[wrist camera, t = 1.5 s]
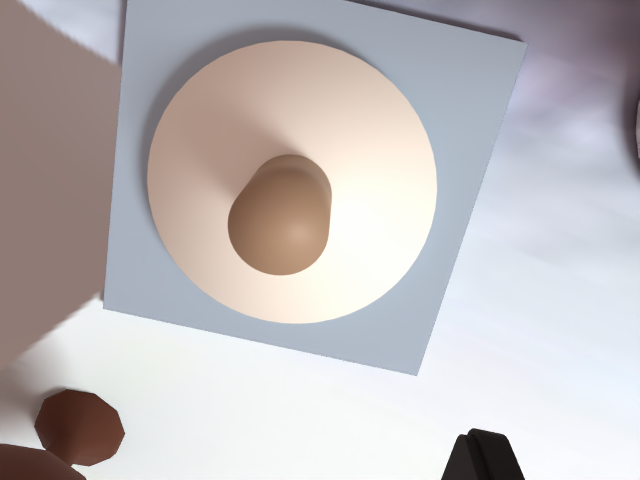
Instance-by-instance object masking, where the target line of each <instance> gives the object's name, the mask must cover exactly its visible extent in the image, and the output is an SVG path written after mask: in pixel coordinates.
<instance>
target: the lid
mask: <svg viewBox="0 0 640 480" xmlns="http://www.w3.org/2000/svg"><path fill="white" fill-rule="evenodd" d="M147 186H148V196H149V203H150V207H151V212H152V216H153V220H154V222H155V225H156V228H157V230H158V233H159V236H160V237H161V239H162V241H163V243H164V245H165V247H166V249H167V251H168V252H169V254H170V255H171V257H172V258H173V260H174V261H175V263H176V264H177V265H178V267H179V268H180V269H181V270H182V271H183V272H184V273H185V275H186V276H187V277H188V278H189V279H190V280H191V281H192V282H193V283H194V284H195V285H197V286H198V287H199V288H200V289H201V290H202V291H203V292H205V293H206V294H208V295H209V296H211V297H212V298H213V299H215V300H216V301H218V302H220V303H221V304H223V305H225V306H227V307H229V308H231V309H233V310H235V311H238V312H240V313H243V314H245V315H248V316H251V317H254V318H258V319H262V320H265V321H272V322H278V323H292V324H303V323H315V322H321V321H326V320H331V319H335V318H338V317H341V316H344V315H347V314H350V313H353V312H355V311H357V310H359V309H361V308H363V307H365V306H367V305H369V304H370V303H372V302H373V301H375V300H377V299H378V298H380V297H381V296H382V295H384V294H385V293H386V292H387V291H388V290H390V289H391V288H392V287H393V286H394V285H395V284H396V283H397V282H398V281H399V280H400V279H401V278H402V277H403V276H404V275H405V274H406V272H407V271H408V270H409V268H410V267H411V266H412V264H413V263H414V261H415V260H416V258H417V257H418V255H419V253H420V251H421V249H422V247H423V246H424V244H425V241H426V239H427V236H428V233H429V231H430V228H431V225H432V221H433V216H434V212H435V207H436V196H437V176H436V167H435V161H434V156H433V151H432V148H431V145H430V142H429V139H428V136H427V133H426V131H425V129H424V127H423V125H422V123H421V121H420V118H419V116H418V115H417V113H416V112H415V110H414V109H413V107H412V106H411V104H410V103H409V101H408V100H407V98H406V97H405V96H404V95H403V94H402V93H401V92H400V91H399V89H398V88H397V87H396V86H395V85H394V84H393V83H392V82H391V81H390V80H389V79H387V78H386V77H385V76H384V75H383V74H382V73H380V72H379V71H378V70H377V69H375V68H373V67H372V66H370V65H369V64H367V63H366V62H364V61H363V60H361V59H359V58H357V57H355V56H353V55H350V54H348V53H346V52H344V51H342V50H339V49H336V48H332V47H329V46H326V45H322V44H317V43H311V42H304V41H272V42H264V43H258V44H254V45H250V46H247V47H243V48H240V49H237V50H235V51H233V52H230V53H228V54H226V55H223V56H221V57H219V58H218V59H216V60H214V61H213V62H211V63H210V64H208V65H206V66H205V67H203V68H202V69H201V70H200V71H198V72H197V73H196V74H195V75H194V76H193V77H191V78H190V79H189V80H188V81H187V82H186V83H185V84H184V85H183V87H182V88H181V89H180V90H179V91H178V92H177V93H176V94H175V96H174V97H173V99H172V100H171V102H170V103H169V105H168V106H167V108H166V109H165V111H164V113H163V115H162V117H161V119H160V122H159V124H158V126H157V128H156V131H155V134H154V137H153V141H152V144H151V148H150V154H149V160H148V172H147Z"/></svg>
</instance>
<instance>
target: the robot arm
mask: <svg viewBox="0 0 640 480" xmlns="http://www.w3.org/2000/svg"><path fill="white" fill-rule="evenodd" d="M636 138H637V147H638V155H639V159H640V100H639V104H638V111H637V123H636ZM441 480H525V478H524V476H523V474H522V471H521V469H520V466H519V464H518V462H517V459H516V457H515V455H514V452H513V450H512V447H511V445H510V443H509V440H508V439H507V437H506V436H505V435H503V434H499V433H494V432H490V431H485V430H480V429H475V428H473V429H471V430H470V431H469V432H468V434H467V435H463V434H461V435H459V436H458V438H457V440H456V442H455V445H454V447H453V450H452V453H451V455H450V458H449V460H448V463H447V466H446V468H445V471H444V473H443V476H442V479H441Z"/></svg>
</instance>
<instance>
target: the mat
mask: <svg viewBox="0 0 640 480" xmlns="http://www.w3.org/2000/svg"><path fill="white" fill-rule="evenodd" d="M272 41H304V42H311V43H317V44H322V45H326V46H329V47H332V48H336V49H339V50H342V51H344V52H346V53H348V54H350V55H353V56H355V57H357V58H359V59H361V60H363V61H364V62H366V63H367V64H369V65H370V66H372V67H373V68H375V69H377V70H378V71H379V72H380V73H382V74H383V75H384V76H385V77H386V78H387V79H389V80H390V81H391V82H392V83H393V84H394V85H395V86H396V87H397V88H398V89H399V91H400V92H401V93H402V94H403V95H404V96H405V97H406V98H407V100H408V101H409V103H410V104H411V106H412V107H413V109H414V110H415V112H416V113H417V115H418V116H419V118H420V121H421V123H422V125H423V127H424V129H425V131H426V133H427V136H428V139H429V142H430V145H431V148H432V151H433V156H434V161H435V167H436V176H437V196H436V207H435V212H434V216H433V221H432V225H431V228H430V231H429V233H428V236H427V239H426V241H425V244H424V246H423V247H422V249H421V251H420V253H419V255H418V257H417V258H416V260H415V261H414V263H413V264H412V266H411V267H410V268H409V270H408V271H407V272H406V274H405V275H404V276H403V277H402V278H401V279H400V280H399V281H398V282H397V283H396V284H395V285H394V286H393V287H392V288H391V289H390V290H388V291H387V292H386V293H385V294H384V295H382V296H381V297H380V298H378V299H377V300H375V301H373V302H372V303H370V304H369V305H367V306H365V307H363V308H361V309H359V310H357V311H355V312H353V313H350V314H347V315H344V316H341V317H338V318H335V319H331V320H326V321H321V322H315V323H303V324H292V323H278V322H272V321H265V320H262V319H258V318H254V317H251V316H248V315H245V314H243V313H240V312H238V311H235V310H233V309H231V308H229V307H227V306H225V305H223V304H221V303H220V302H218V301H216V300H215V299H213V298H212V297H211V296H209V295H208V294H206V293H205V292H203V291H202V290H201V289H200V288H199V287H198V286H197V285H195V284H194V283H193V282H192V281H191V280H190V279H189V278H188V277H187V276H186V275H185V273H184V272H183V271H182V270H181V269H180V268H179V267H178V265H177V264H176V263H175V261H174V260H173V258H172V257H171V255H170V254H169V252H168V251H167V249H166V247H165V245H164V243H163V241H162V239H161V237H160V236H159V233H158V230H157V228H156V225H155V222H154V220H153V216H152V212H151V207H150V203H149V196H148V186H147V172H148V160H149V154H150V148H151V144H152V141H153V137H154V134H155V131H156V128H157V126H158V124H159V122H160V119H161V117H162V115H163V113H164V111H165V109H166V108H167V106H168V105H169V103H170V102H171V100H172V99H173V97H174V96H175V94H176V93H177V92H178V91H179V90H180V89H181V88H182V87H183V85H184V84H185V83H186V82H187V81H188V80H189V79H190V78H191V77H193V76H194V75H195V74H196V73H197V72H198V71H200V70H201V69H202V68H203V67H205V66H206V65H208V64H210V63H211V62H213V61H214V60H216V59H218V58H219V57H221V56H223V55H226V54H228V53H230V52H233V51H235V50H237V49H240V48H243V47H247V46H250V45H254V44H258V43H264V42H272ZM527 47H528V43H524V42H520V41H515V40H511V39H507V38H503V37H498V36H494V35H490V34H486V33H482V32H477V31H473V30H469V29H465V28H460V27H456V26H452V25H448V24H443V23H439V22H435V21H431V20H426V19H422V18H418V17H414V16H409V15H405V14H401V13H397V12H392V11H388V10H384V9H380V8H375V7H371V6H367V5H363V4H358V3H354V2H350V1H346V0H127V10H126V23H125V36H124V48H123V61H122V74H121V86H120V99H119V112H118V124H117V138H116V150H115V162H114V175H113V188H112V200H111V213H110V226H109V238H108V251H107V264H106V276H105V289H104V302H103V309H107V310H111V311H116V312H121V313H125V314H130V315H135V316H139V317H144V318H149V319H153V320H158V321H163V322H167V323H172V324H177V325H181V326H186V327H191V328H195V329H200V330H205V331H209V332H214V333H219V334H223V335H228V336H233V337H237V338H242V339H247V340H251V341H256V342H261V343H265V344H270V345H275V346H279V347H284V348H289V349H293V350H298V351H303V352H307V353H312V354H317V355H321V356H326V357H331V358H335V359H340V360H345V361H349V362H354V363H359V364H363V365H368V366H373V367H377V368H382V369H387V370H391V371H396V372H401V373H405V374H410V375H415V376H417V374H418V371H419V368H420V365H421V363H422V360H423V357H424V354H425V351H426V348H427V345H428V342H429V339H430V336H431V333H432V330H433V327H434V324H435V321H436V318H437V315H438V312H439V309H440V306H441V303H442V300H443V297H444V294H445V291H446V288H447V285H448V282H449V279H450V276H451V273H452V270H453V267H454V264H455V261H456V258H457V255H458V252H459V249H460V246H461V243H462V240H463V237H464V234H465V231H466V228H467V225H468V223H469V220H470V217H471V214H472V211H473V208H474V205H475V202H476V199H477V196H478V193H479V190H480V187H481V184H482V181H483V178H484V175H485V172H486V169H487V166H488V163H489V160H490V157H491V154H492V151H493V148H494V145H495V142H496V139H497V136H498V133H499V130H500V127H501V124H502V121H503V118H504V115H505V112H506V109H507V106H508V103H509V100H510V97H511V94H512V91H513V88H514V85H515V83H516V80H517V77H518V74H519V71H520V68H521V65H522V62H523V59H524V56H525V53H526V50H527Z"/></svg>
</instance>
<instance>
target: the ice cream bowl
mask: <svg viewBox="0 0 640 480" xmlns="http://www.w3.org/2000/svg"><path fill="white" fill-rule="evenodd" d="M34 427H35V429H36V432H37V434H38V436H39V439H40V441H41V444H42V446H43V448H45V449H46V450H41V449H34V448H28V447H22V446H16V445H9V444H0V480H86V478H85V477H84V476H83V475H82V474H80V473H79V472H77V471H76V470H75V469H73V468H72V467H71V466H72V464H77V465H83V466H92V465H94V464H97V463H99V462H102V461H104V460H107V459H109V458H111V457H112V456H113V455H114V454H116V452H117V450H118V448H119V446H120V444H121V442H122V439H123V437H124V435H125V432H124V429H123V427H122V424H121V421H120V418H119V415H118V412H117V411H116V410H115V409H114V408H112V407H111V406H110V405H108V404H107V403H106V402H104V401H103V400H102V399H101V398H99V397H98V396H97V395H95V394H91V393H85V392H79V391H72V390H65V391H62V392H60V393H58V394H56V395H54V396H51V397H49V398H47V399H45V400H44V402H43V405H42V407H41V410H40V412H39V415H38V418H37V420H36V423H35V426H34Z"/></svg>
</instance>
